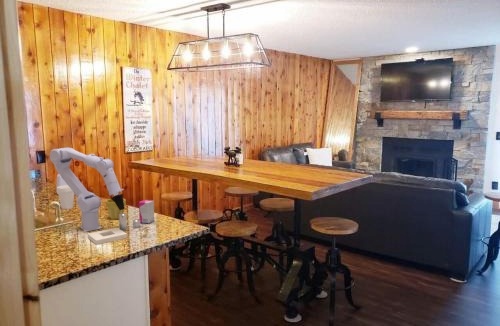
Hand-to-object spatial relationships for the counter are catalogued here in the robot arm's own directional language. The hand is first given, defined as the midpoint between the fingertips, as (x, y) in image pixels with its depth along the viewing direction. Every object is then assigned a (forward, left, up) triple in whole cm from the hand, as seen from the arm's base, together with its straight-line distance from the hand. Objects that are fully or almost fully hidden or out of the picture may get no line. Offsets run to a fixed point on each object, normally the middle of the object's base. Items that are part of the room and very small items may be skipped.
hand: (122, 209), depth 185 cm
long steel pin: (-3, +1, -11) cm, 12 cm away
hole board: (+4, -9, -11) cm, 15 cm away
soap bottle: (-107, +1, -12) cm, 107 cm away
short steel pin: (-3, +8, -11) cm, 14 cm away
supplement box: (-7, +16, -12) cm, 21 cm away
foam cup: (-64, -8, -12) cm, 66 cm away
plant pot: (-26, +7, -12) cm, 30 cm away
